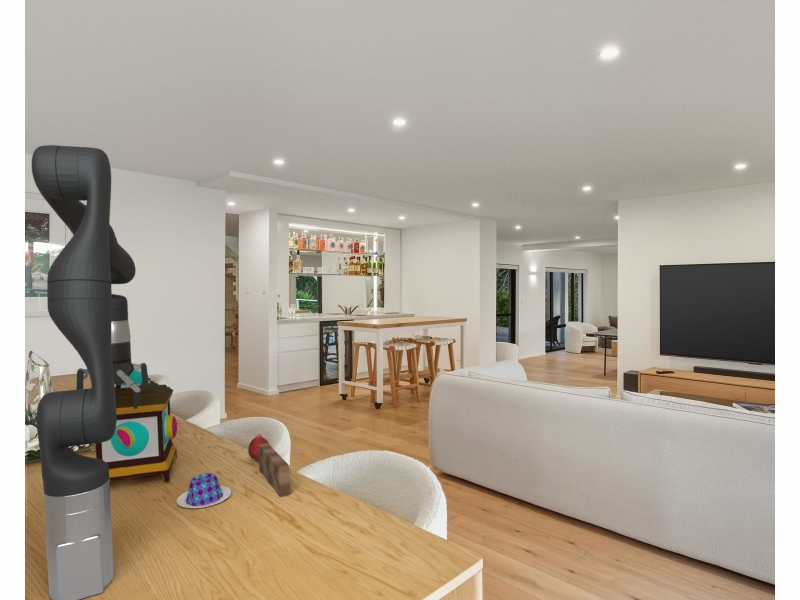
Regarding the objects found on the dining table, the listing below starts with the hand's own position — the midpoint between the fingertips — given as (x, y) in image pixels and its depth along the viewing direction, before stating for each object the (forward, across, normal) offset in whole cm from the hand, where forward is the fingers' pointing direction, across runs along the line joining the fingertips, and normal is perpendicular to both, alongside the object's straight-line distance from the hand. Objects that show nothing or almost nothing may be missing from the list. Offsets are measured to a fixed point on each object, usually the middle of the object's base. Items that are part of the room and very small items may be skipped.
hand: (114, 410), depth 112 cm
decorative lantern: (+22, +5, +17) cm, 28 cm away
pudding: (+22, +17, -8) cm, 29 cm away
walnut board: (+22, +34, -8) cm, 41 cm away
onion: (+22, +35, +8) cm, 42 cm away
